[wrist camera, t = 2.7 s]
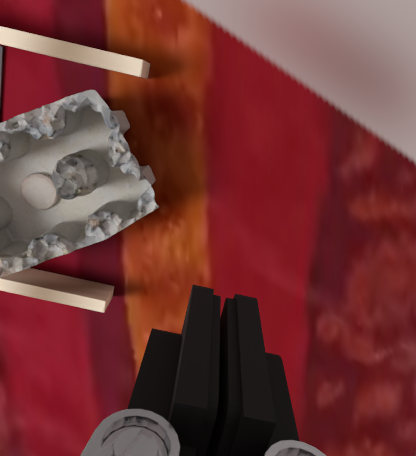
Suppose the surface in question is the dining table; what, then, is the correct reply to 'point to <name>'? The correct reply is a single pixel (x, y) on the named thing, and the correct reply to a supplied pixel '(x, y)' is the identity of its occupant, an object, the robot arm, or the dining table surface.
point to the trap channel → (29, 278)
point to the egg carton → (67, 180)
